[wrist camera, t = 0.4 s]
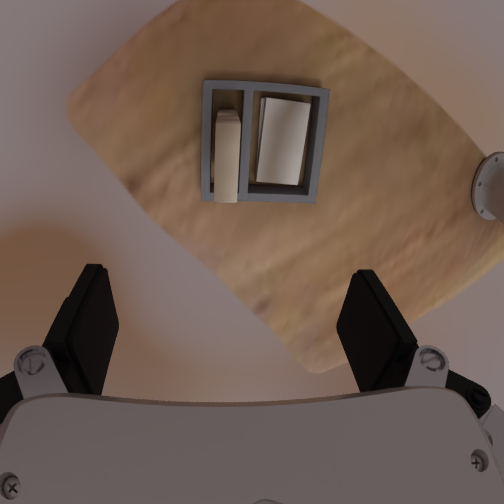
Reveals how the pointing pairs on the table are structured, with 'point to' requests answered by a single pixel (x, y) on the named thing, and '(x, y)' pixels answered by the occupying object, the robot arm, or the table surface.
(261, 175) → the offcut upper
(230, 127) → the birch sheet
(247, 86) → the rack
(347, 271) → the table surface
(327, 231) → the table surface
